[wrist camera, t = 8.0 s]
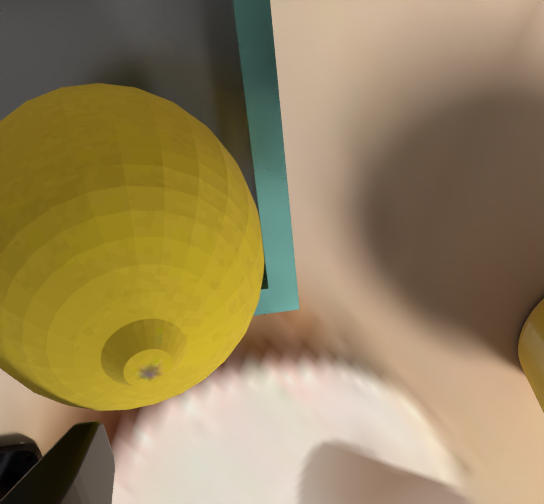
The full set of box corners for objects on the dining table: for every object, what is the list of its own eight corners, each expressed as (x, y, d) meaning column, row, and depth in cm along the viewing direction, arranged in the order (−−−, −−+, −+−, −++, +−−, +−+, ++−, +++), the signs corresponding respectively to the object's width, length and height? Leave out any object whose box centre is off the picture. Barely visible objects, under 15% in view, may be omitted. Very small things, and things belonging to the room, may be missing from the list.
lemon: (-56, 222, 13) (-149, 511, 6) (17, 2, 11) (-8, 97, 5) (153, 277, 16) (232, 512, 9) (235, 108, 14) (400, 256, 8)
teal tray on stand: (278, 226, 20) (299, 309, 15) (32, 258, 20) (-41, 354, 15) (248, -55, 16) (261, -87, 11) (-61, -20, 16) (-214, -35, 10)
